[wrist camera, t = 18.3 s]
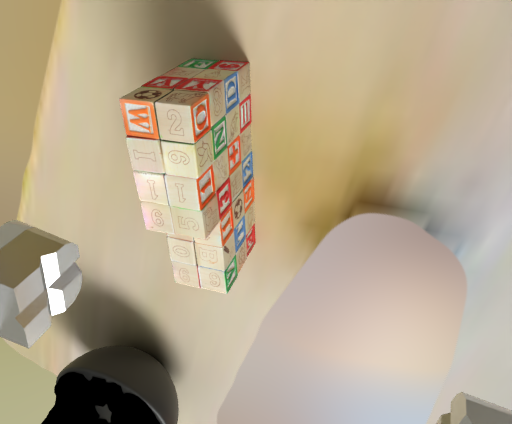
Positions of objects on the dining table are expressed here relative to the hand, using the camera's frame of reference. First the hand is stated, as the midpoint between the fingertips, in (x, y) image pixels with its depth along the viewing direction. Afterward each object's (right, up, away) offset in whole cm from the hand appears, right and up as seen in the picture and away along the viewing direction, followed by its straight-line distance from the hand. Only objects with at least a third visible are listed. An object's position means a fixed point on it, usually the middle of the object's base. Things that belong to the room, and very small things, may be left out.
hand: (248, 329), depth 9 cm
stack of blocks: (-3, +8, +40) cm, 41 cm away
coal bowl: (-18, -23, +68) cm, 74 cm away
